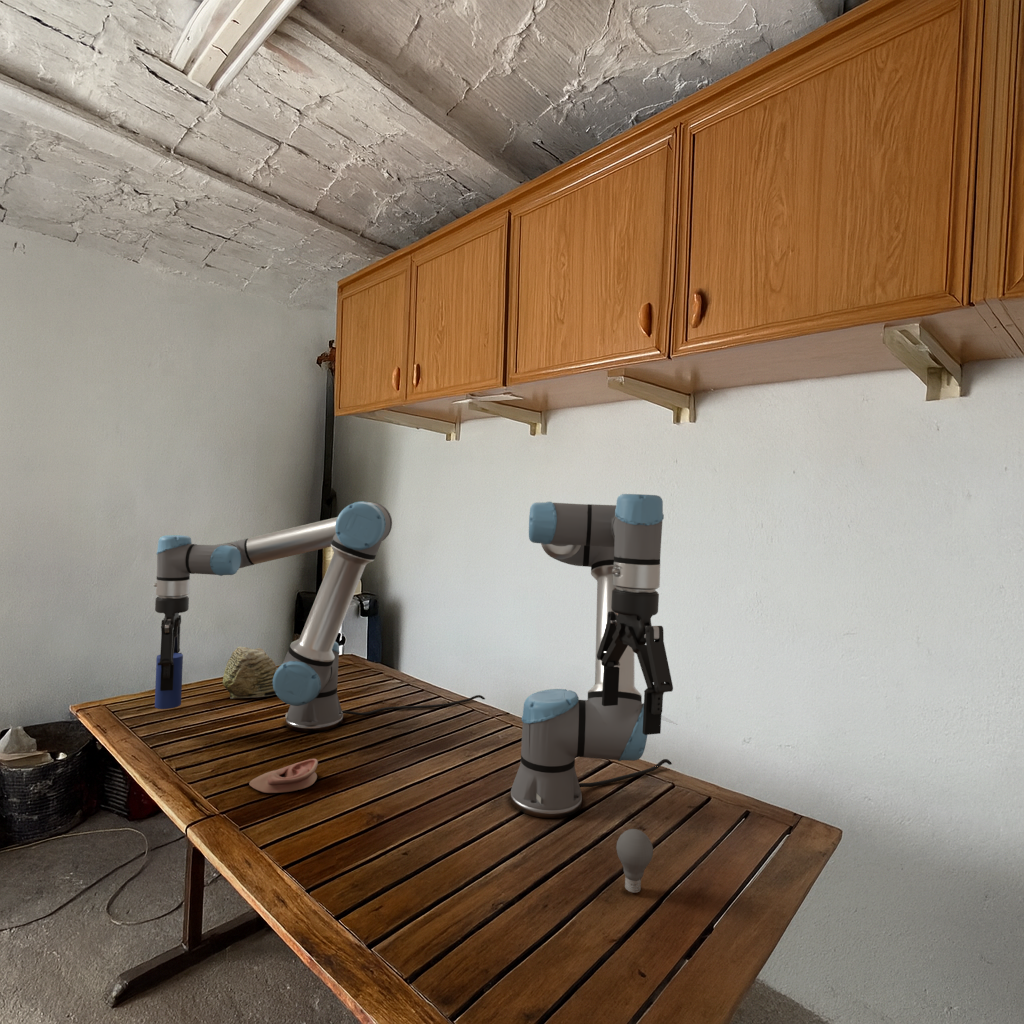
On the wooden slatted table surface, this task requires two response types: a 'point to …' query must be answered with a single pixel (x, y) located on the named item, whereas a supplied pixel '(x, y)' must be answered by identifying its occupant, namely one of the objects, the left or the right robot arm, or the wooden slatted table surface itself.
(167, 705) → the cylinder
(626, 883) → the light bulb
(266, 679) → the fossil
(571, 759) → the right robot arm
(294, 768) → the anatomical model
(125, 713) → the wooden slatted table surface
